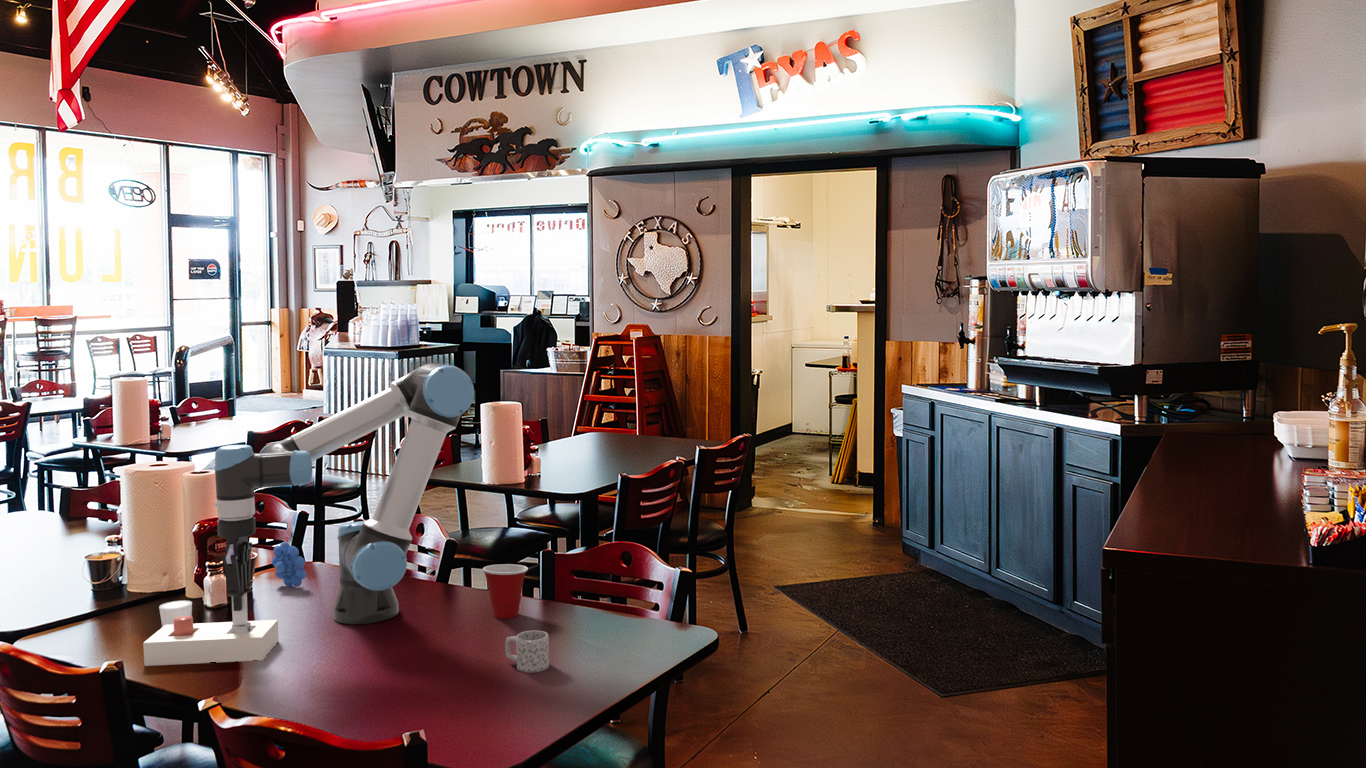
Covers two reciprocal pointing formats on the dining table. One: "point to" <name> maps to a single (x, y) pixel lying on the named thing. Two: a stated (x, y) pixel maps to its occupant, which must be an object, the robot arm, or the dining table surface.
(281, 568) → the grapes
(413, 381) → the robot arm
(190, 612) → the white short tapered cylinder
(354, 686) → the dining table surface
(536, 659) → the mug
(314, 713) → the dining table surface
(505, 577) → the plastic cup
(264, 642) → the button box
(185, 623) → the red button
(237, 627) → the steel button
